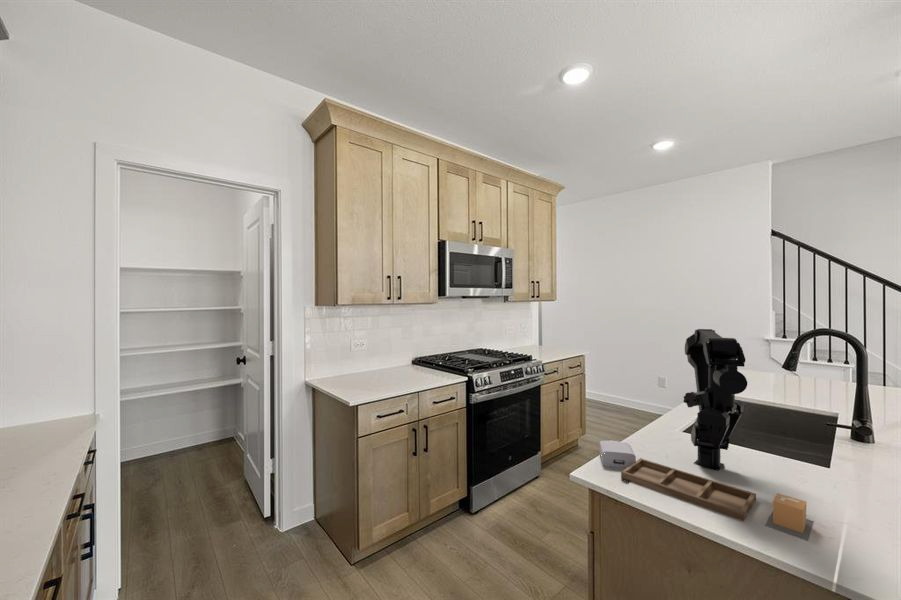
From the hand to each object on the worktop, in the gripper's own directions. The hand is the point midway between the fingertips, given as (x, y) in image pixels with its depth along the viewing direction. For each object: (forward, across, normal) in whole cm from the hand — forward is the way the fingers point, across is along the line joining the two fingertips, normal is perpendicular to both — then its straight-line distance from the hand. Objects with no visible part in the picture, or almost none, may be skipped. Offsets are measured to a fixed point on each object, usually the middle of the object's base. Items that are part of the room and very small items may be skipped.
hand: (721, 442), depth 103 cm
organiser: (+12, +9, -6) cm, 16 cm away
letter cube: (+11, +9, +15) cm, 21 cm away
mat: (+12, +9, +15) cm, 21 cm away
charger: (+12, +2, -28) cm, 31 cm away
